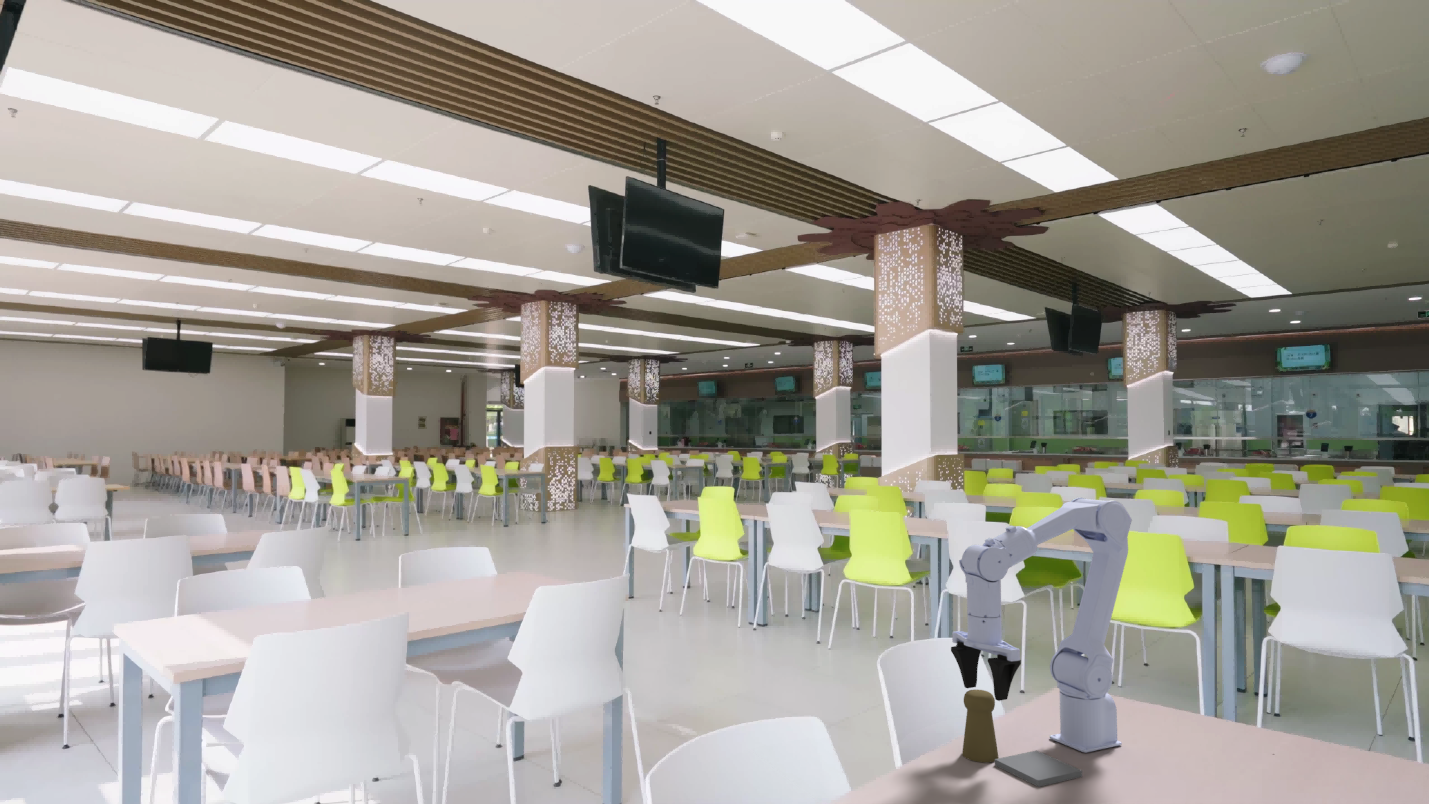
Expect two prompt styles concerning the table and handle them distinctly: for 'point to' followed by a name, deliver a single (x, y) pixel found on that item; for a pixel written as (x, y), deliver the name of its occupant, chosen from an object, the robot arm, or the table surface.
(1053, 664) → the robot arm
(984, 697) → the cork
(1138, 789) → the table surface
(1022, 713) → the table surface
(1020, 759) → the mat
